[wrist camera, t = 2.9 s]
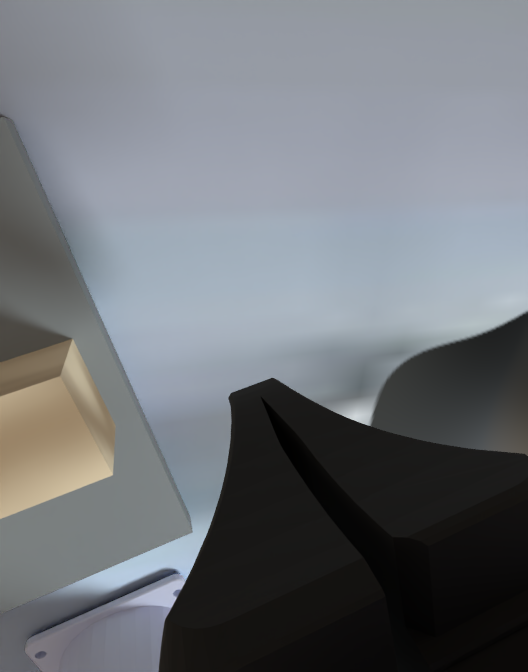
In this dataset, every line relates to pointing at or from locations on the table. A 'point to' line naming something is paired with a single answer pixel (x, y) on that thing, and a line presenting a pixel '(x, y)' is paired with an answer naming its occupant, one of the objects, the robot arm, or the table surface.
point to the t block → (50, 428)
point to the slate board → (113, 385)
